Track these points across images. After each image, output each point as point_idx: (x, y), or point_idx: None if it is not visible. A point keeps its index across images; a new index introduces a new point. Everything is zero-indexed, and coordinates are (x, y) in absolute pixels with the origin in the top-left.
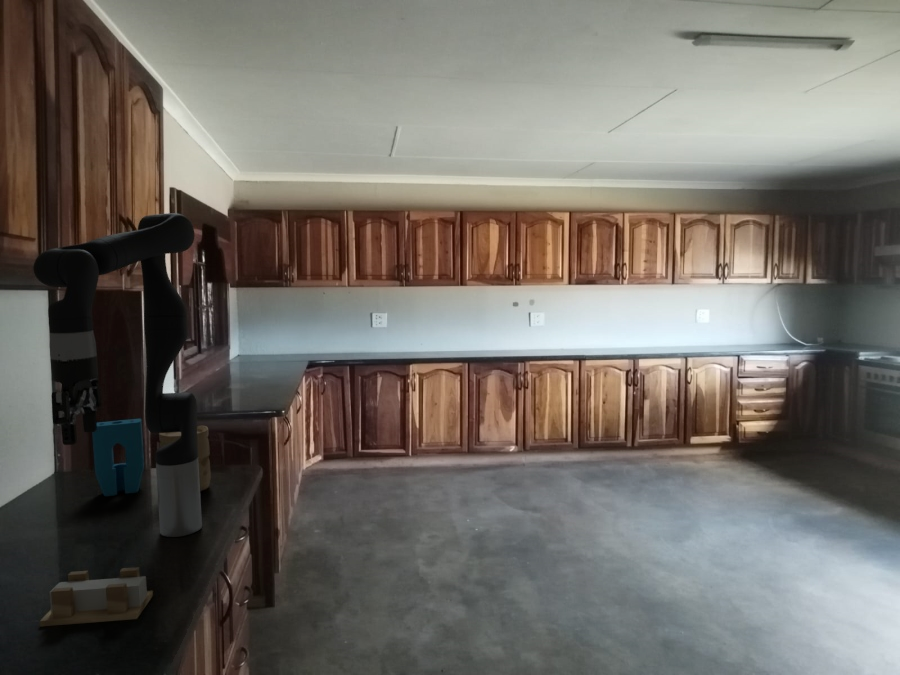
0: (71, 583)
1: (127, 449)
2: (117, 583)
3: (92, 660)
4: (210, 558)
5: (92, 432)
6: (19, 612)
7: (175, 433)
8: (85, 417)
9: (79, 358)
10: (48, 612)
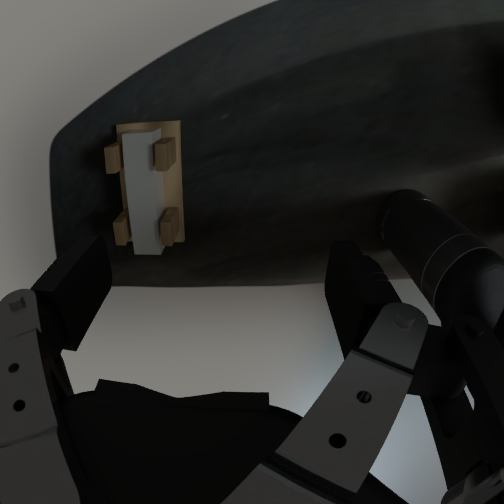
0: (145, 154)
1: None
2: (141, 223)
3: (61, 221)
4: (286, 282)
5: None
6: (160, 71)
7: None
8: (352, 304)
9: None
10: (136, 123)
